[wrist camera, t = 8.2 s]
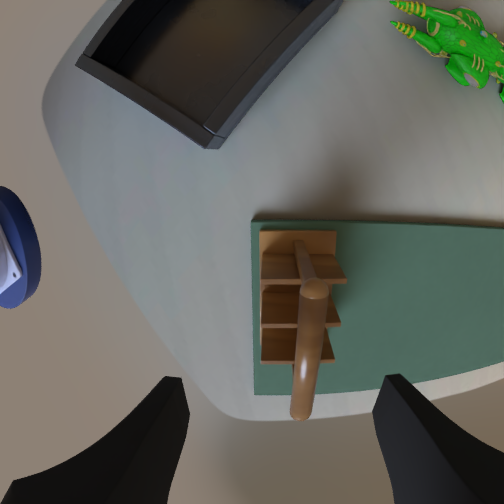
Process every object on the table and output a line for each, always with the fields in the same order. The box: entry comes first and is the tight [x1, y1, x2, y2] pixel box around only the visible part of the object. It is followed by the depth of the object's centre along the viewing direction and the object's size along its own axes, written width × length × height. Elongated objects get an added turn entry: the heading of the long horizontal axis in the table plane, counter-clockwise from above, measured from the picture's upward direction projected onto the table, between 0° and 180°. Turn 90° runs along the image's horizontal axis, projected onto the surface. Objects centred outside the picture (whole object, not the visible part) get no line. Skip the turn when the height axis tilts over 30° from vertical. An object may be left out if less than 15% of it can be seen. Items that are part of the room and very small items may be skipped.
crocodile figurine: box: [390, 0, 504, 103], centre depth 11 cm, size 7×18×4 cm, turn 84°
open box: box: [75, 0, 343, 149], centre depth 12 cm, size 12×10×4 cm
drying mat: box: [251, 220, 504, 395], centre depth 19 cm, size 34×14×1 cm, turn 91°
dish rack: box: [259, 230, 347, 421], centre depth 15 cm, size 8×4×7 cm, turn 1°
